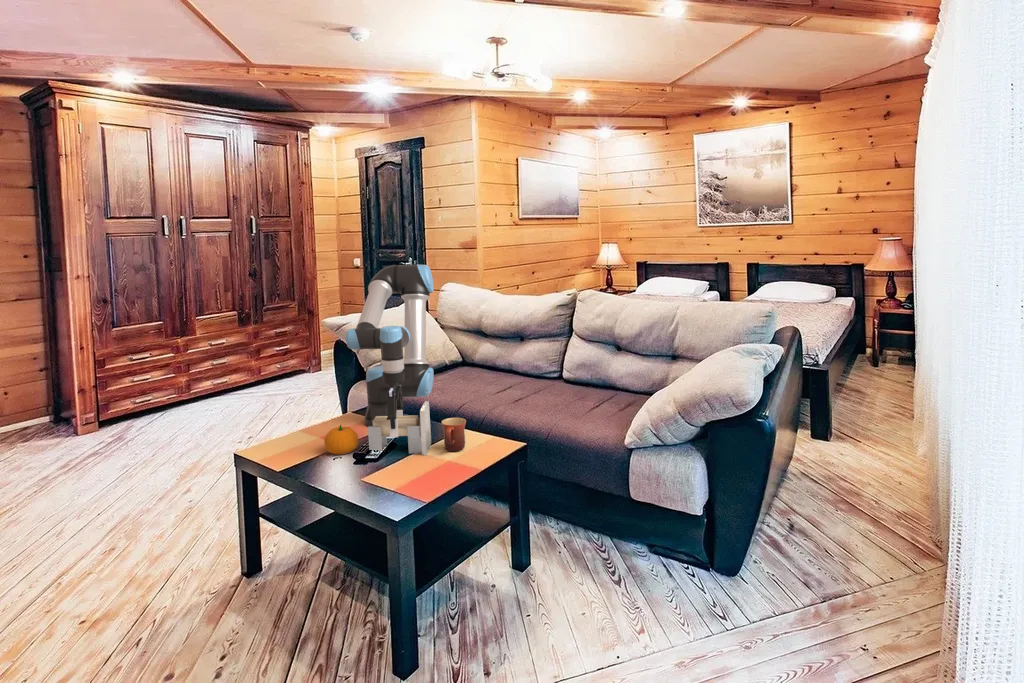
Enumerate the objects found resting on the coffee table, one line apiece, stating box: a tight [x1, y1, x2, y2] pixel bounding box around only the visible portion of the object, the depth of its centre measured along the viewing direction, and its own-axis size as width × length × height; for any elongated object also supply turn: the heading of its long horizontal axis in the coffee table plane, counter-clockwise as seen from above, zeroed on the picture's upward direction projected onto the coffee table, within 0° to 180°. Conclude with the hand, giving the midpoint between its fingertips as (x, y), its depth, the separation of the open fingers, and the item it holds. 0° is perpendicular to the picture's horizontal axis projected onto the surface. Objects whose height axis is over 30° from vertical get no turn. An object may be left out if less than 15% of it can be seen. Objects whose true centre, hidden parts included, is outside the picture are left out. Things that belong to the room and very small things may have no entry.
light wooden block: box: [373, 414, 419, 437], centre depth 217 cm, size 4×15×6 cm, turn 90°
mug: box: [441, 417, 467, 453], centre depth 216 cm, size 12×9×10 cm
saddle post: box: [367, 423, 388, 452], centre depth 218 cm, size 8×4×10 cm, turn 0°
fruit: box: [324, 424, 359, 456], centre depth 218 cm, size 12×12×10 cm
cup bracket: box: [407, 400, 432, 456], centre depth 217 cm, size 12×6×16 cm, turn 0°
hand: (397, 432), depth 218 cm, fingers open, 9 cm apart
